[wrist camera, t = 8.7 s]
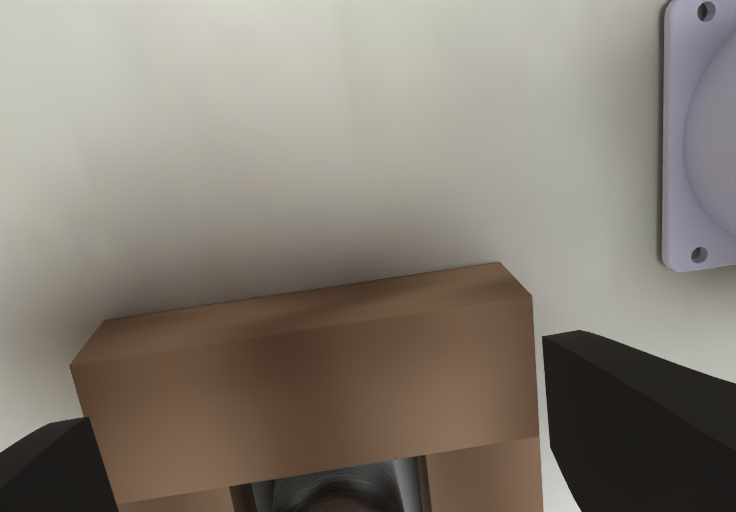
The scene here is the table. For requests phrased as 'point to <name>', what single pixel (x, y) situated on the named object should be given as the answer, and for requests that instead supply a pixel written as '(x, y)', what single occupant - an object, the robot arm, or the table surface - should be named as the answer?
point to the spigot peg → (340, 490)
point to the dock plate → (322, 393)
